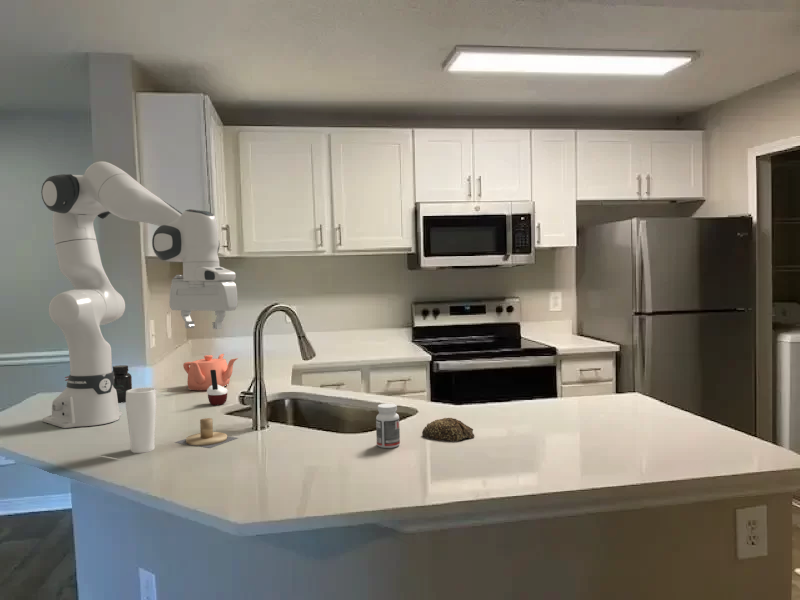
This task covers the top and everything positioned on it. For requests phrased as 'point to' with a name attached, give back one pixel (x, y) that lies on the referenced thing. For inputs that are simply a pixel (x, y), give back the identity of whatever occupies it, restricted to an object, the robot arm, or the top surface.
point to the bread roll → (447, 430)
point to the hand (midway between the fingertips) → (203, 328)
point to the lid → (206, 434)
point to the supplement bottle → (122, 381)
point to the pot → (208, 372)
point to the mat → (208, 445)
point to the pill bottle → (387, 426)
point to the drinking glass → (141, 418)
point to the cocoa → (216, 391)
